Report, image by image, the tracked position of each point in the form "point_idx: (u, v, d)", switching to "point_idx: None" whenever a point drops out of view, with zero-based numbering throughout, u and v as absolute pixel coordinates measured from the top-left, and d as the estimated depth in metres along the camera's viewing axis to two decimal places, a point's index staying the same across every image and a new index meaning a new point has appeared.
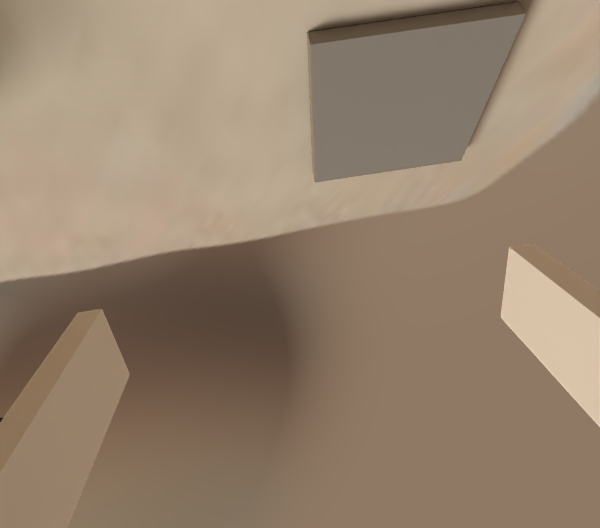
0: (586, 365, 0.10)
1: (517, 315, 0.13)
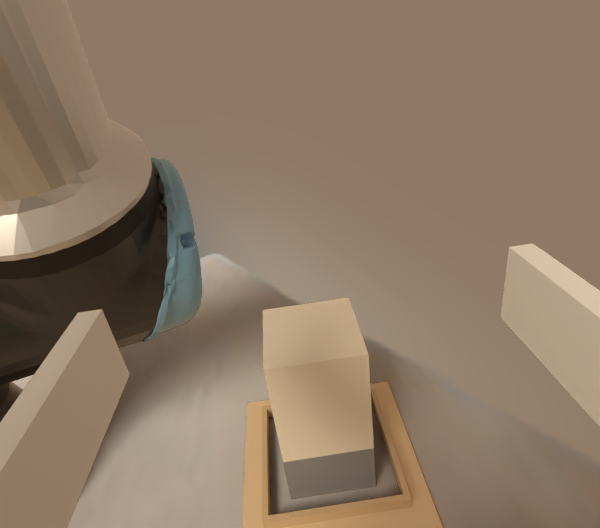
0: (586, 365, 0.10)
1: (517, 315, 0.13)
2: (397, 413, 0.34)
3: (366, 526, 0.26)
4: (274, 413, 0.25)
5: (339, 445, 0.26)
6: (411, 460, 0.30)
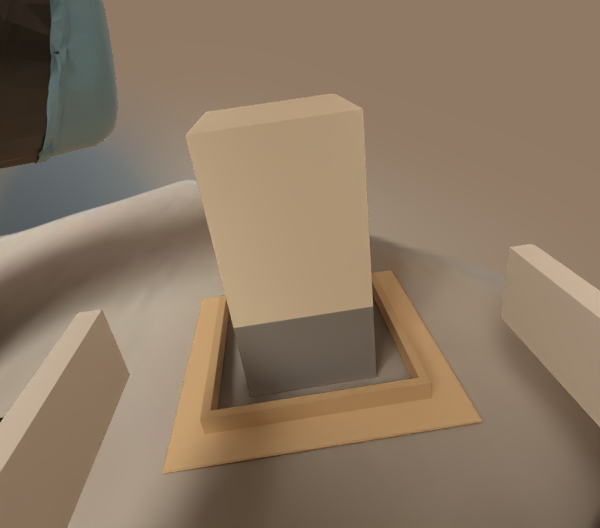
0: (586, 365, 0.10)
1: (517, 315, 0.13)
2: (405, 299, 0.24)
3: (361, 423, 0.17)
4: (212, 230, 0.15)
5: (319, 299, 0.17)
6: (428, 346, 0.21)
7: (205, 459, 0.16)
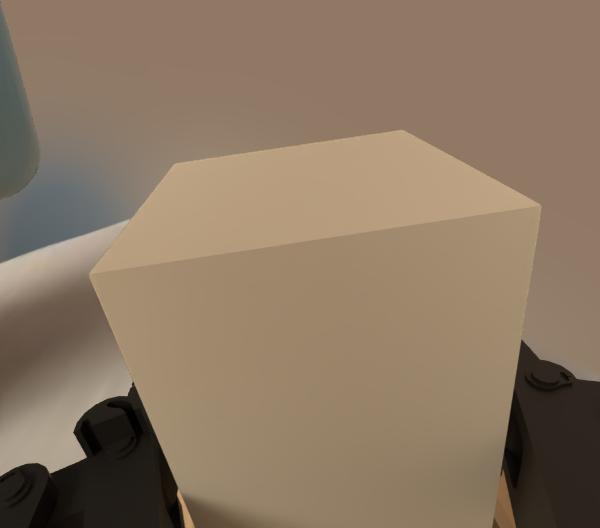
0: None
1: None
2: None
3: None
4: (170, 451, 0.07)
5: None
6: None
7: None
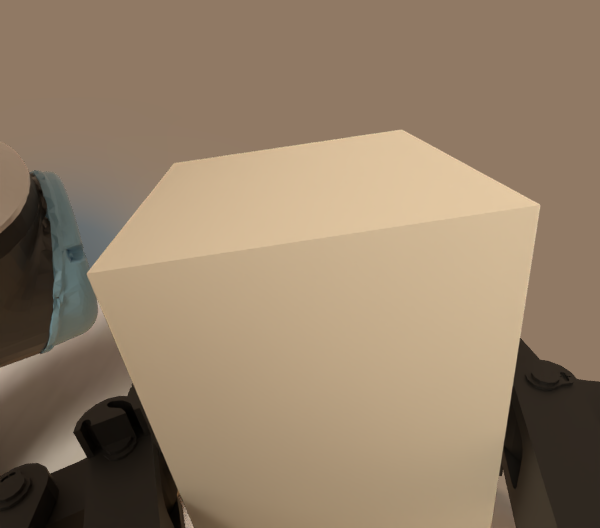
0: None
1: None
2: None
3: None
4: (168, 451, 0.07)
5: None
6: None
7: None
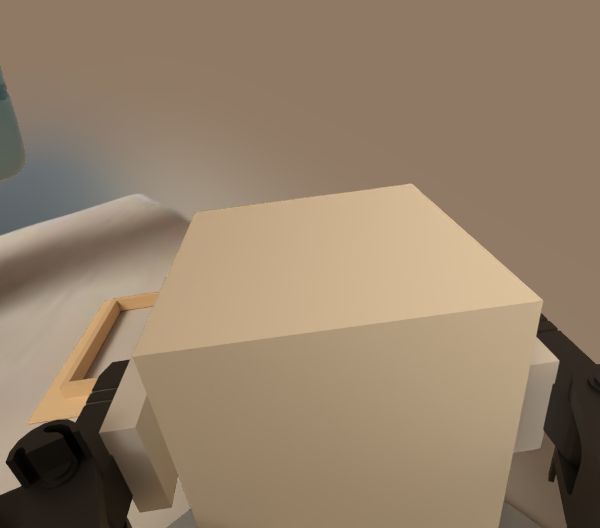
0: None
1: None
2: None
3: None
4: (195, 503, 0.07)
5: None
6: None
7: (58, 414, 0.23)
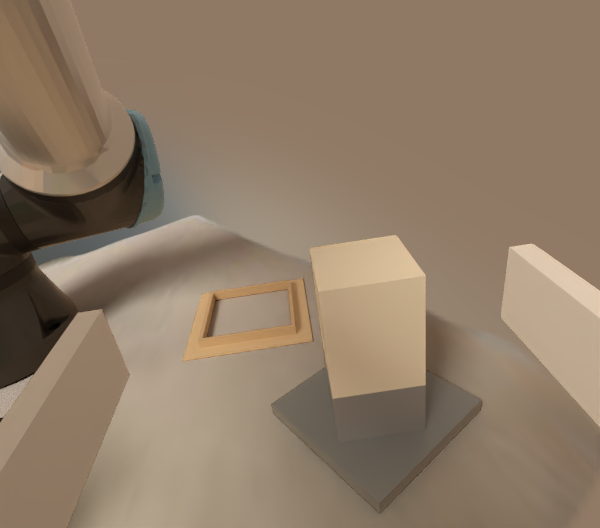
0: (586, 365, 0.10)
1: (517, 315, 0.13)
2: (303, 293, 0.48)
3: (265, 342, 0.41)
4: (326, 341, 0.24)
5: (390, 380, 0.26)
6: (304, 314, 0.44)
7: (199, 356, 0.40)
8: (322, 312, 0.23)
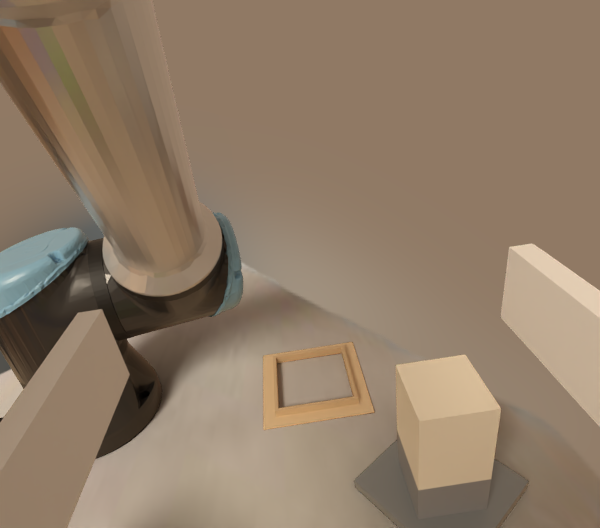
0: (586, 365, 0.10)
1: (517, 315, 0.13)
2: (356, 359, 0.55)
3: (332, 412, 0.47)
4: (420, 453, 0.31)
5: (464, 477, 0.33)
6: (361, 382, 0.51)
7: (277, 425, 0.47)
8: (420, 434, 0.30)
